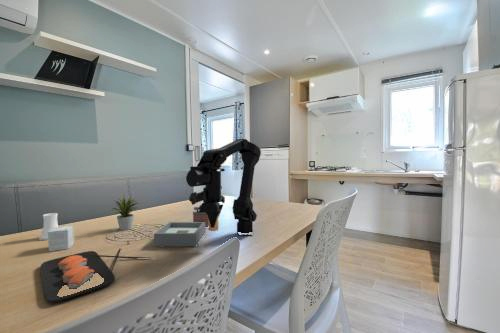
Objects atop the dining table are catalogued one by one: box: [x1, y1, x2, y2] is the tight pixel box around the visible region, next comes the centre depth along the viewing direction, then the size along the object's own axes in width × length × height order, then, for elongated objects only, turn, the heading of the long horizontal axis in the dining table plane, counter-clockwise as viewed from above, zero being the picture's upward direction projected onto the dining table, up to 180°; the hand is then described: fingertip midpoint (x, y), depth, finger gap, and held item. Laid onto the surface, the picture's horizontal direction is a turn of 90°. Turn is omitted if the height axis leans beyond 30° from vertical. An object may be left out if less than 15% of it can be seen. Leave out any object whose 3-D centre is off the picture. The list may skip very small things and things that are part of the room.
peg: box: [208, 218, 219, 232], centre depth 86 cm, size 4×4×6 cm
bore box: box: [153, 221, 206, 247], centre depth 96 cm, size 16×16×5 cm
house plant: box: [111, 194, 143, 231], centre depth 109 cm, size 14×14×16 cm
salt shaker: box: [38, 212, 59, 241], centre depth 99 cm, size 8×8×10 cm
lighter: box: [192, 206, 209, 227], centre depth 113 cm, size 8×3×10 cm, turn 84°
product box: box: [47, 225, 75, 252], centre depth 88 cm, size 6×6×7 cm
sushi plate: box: [39, 248, 150, 303], centre depth 73 cm, size 29×30×4 cm
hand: (213, 226), depth 86 cm, fingers closed on peg, 4 cm apart
